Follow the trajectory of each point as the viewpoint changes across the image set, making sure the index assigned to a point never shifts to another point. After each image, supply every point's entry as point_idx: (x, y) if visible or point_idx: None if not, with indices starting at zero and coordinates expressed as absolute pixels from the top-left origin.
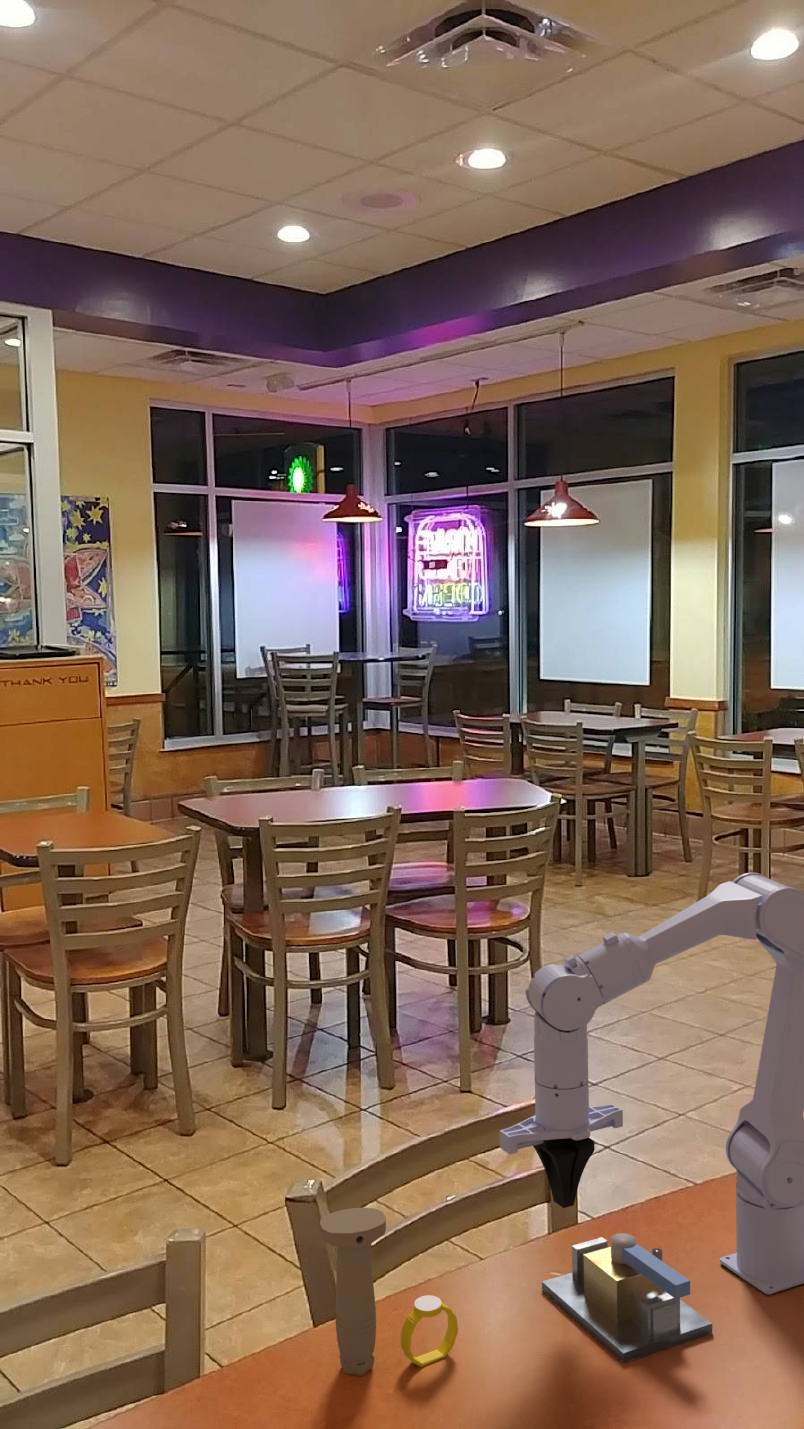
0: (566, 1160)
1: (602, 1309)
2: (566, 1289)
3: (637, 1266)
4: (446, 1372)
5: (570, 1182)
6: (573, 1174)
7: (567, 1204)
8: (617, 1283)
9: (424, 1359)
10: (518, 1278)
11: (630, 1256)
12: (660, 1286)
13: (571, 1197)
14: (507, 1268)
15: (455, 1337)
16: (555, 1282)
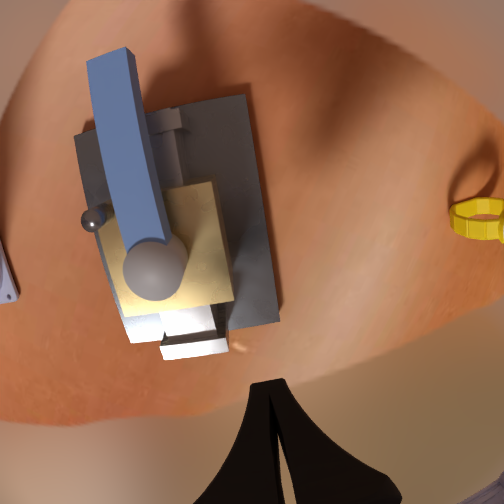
0: (332, 482)
1: (223, 217)
2: (253, 291)
3: (156, 181)
4: (460, 176)
5: (271, 429)
6: (271, 446)
7: (273, 383)
8: (209, 181)
9: (473, 205)
10: (295, 348)
11: (159, 210)
12: (141, 101)
13: (265, 395)
14: (297, 370)
15: (453, 212)
16: (261, 314)
